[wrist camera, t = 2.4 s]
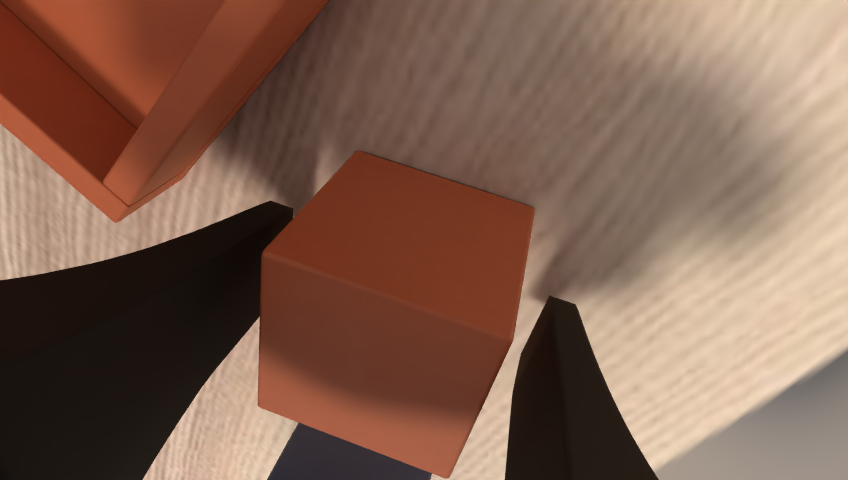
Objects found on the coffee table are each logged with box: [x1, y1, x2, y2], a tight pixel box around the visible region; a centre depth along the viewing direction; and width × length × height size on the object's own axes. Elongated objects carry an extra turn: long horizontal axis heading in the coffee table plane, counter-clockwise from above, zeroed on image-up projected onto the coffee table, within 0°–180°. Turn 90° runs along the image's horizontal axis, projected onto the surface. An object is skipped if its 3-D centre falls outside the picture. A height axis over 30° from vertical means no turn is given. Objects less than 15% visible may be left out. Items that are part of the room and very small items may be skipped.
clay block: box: [258, 151, 535, 478], centre depth 12 cm, size 4×4×4 cm
